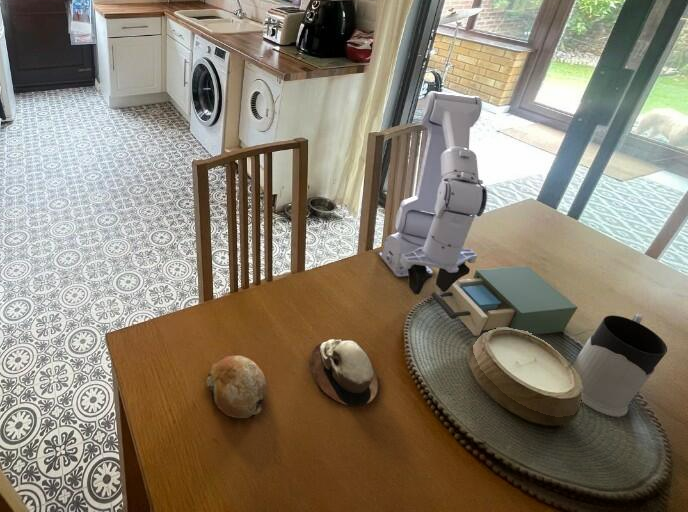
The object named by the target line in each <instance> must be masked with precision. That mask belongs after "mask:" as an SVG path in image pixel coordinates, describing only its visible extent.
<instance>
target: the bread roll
mask: <svg viewBox="0 0 688 512" xmlns="http://www.w3.org/2000/svg"><path fill="white" fill-rule="evenodd" d="M211 366H212V367H211V369H210V370H209V373H208V375H207V378H206V386H207V388H210V390H209V394H210V395H211V396H212V397H213V401H214V403H215V405H216V406H217V408H218V409H219V410H220V411H221V412H222V413H223V414H225V415H226V416H228V417H231V418H234V419H235V418H237V419H248V418H250V417H252V416H257V415H258V414H259V413H261V411H262V407H261V406H262V403H263V402H264V400H265V398H266V395H267V390H268V389H267V387H268V386H267V385H268V384H267V380H266V377H265V374H264V372H263V371H262V369H261V368H260V366H259V365H258V364H257V363H255V362H254V361H253V360H252V359H250V358H248V357H246V356H243V355H241V354H240V355H228V356H225V357H222V358H221V359H220V360H219V361H217V362H215V363H213V364H212V365H211Z"/></svg>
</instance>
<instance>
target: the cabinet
mask: <svg viewBox="0 0 688 512" xmlns="http://www.w3.org/2000/svg"><path fill="white" fill-rule="evenodd" d="M475 278H481V279H482V280H483V281H484V282H485V283H486V284H488V285H489V286H490V287H491V288H492V289H493V290H494V291H495V292H496V293H497V294H498V295H499V296H500V297H501V298H502V299H503V300H504V301H505V302H506V303H507V304H508V305H509V306H510V307H511V308H513V309H514V310H515V311H516V312H517V314H516V316H515V317H514V319H513V321H512V323H511V325H510V327H509V328H513V329H518V330H524V331H528V332H529V333H532V334H534V335H533V336H536V335H543V334H552V333H560V332H564V331H565V329H566V328H567V326H568V324H569V323H570V321H571V320H572V318H573V316H574V314H575V313H576V311H577V310H578V307H579V306H577V305H576V304H574V303H573V302H572V301H571V300H570V299H569V298H567V297H566V296H565V295H564V294H562V293H561V292H560V291H558V289H556V288H555V287H554V286H553V285H551V284H550V283H549V282H548V281H547V280H546V279H544V278H543V277H542V276H541V275H540V274H538V273H537V272H536V271H534V270H533V269H532V268H531V267H530V266H528V265H517V266H506V267H505V266H504V267H495V268H485V269H476V270H475V273H474V274H473V277H472V279H475Z"/></svg>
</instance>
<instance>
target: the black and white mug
mask: <svg viewBox="0 0 688 512" xmlns="http://www.w3.org/2000/svg"><path fill="white" fill-rule="evenodd" d="M642 320H643V316H642V315H641V314H639V313H636V314H634V316H633V318H632V319H631V318H628V317H624V316H620V315H607V316H605V317H604V318H603V319H602V321H601V322H600V324H599V325H598V326H597V329H596V330H595V332H594V333H592V334H591V335H590V336H589V338H588V340H587V341H586V343H585V344H584V346H583V347H582V349H581V350H580V352H579V353H578V355H577V356H576V358H575V360H574V361H573V363H572V364H571V366H573V368H574V369H575V370H576V372H577V373H578V374H579V376H580V378H581V381H582V385H583V396H582V401H581V403H583V404H585V406H587V407H589V408H591V409H593V410H595V411H597V412H599V413H601V414H603V415H607V416H611V417H624V416H626V415H627V413H628V412H629V404H630V403H631V402H632V400H633V399H634V398H635V397H636V395H637V394H638V392H640V390H641V389H642V388H643V386H644V385H645V383H646V382H647V381H648V380H649V379H650V377H651V376H652V375H653V374H654V372H655V371H656V370H655V368H656V367H657V366H658V365H659V363H660V362H661V360H663V358H664V357H665V355H666V354H667V352H668V346H667V344H666V343H665V341H664V340H663V339H662V338H661V336H659V335H658V334H657V333H656V332H654V331H653V330H652V329H650V328H648V327H647V326H645V325H643V324H642V323H641V322H642Z"/></svg>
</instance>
